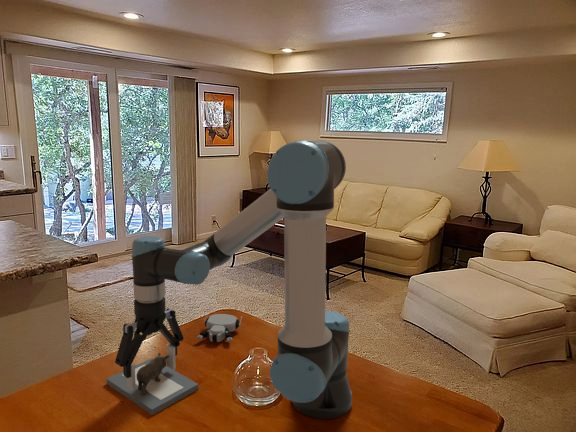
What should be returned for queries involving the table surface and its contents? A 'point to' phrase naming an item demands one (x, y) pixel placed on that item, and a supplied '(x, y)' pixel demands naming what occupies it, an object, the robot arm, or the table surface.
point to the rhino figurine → (150, 372)
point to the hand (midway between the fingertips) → (152, 377)
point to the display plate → (155, 389)
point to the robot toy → (220, 327)
